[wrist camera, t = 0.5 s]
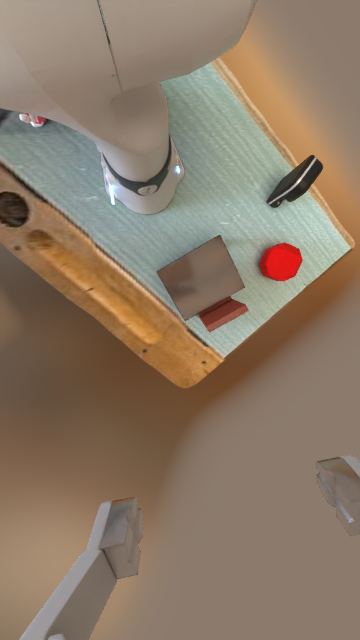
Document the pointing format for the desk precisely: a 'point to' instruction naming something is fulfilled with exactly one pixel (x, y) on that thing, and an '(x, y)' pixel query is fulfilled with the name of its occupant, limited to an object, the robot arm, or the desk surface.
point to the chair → (222, 313)
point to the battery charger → (296, 182)
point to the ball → (281, 262)
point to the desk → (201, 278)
